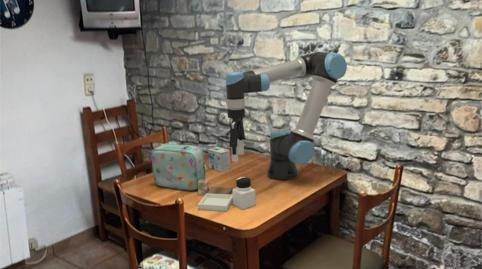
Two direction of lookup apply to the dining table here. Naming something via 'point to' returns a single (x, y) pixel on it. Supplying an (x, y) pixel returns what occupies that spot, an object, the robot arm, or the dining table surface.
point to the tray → (215, 202)
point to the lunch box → (178, 166)
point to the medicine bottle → (243, 193)
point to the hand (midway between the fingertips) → (238, 157)
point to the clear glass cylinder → (203, 187)
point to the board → (220, 190)
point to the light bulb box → (219, 159)
